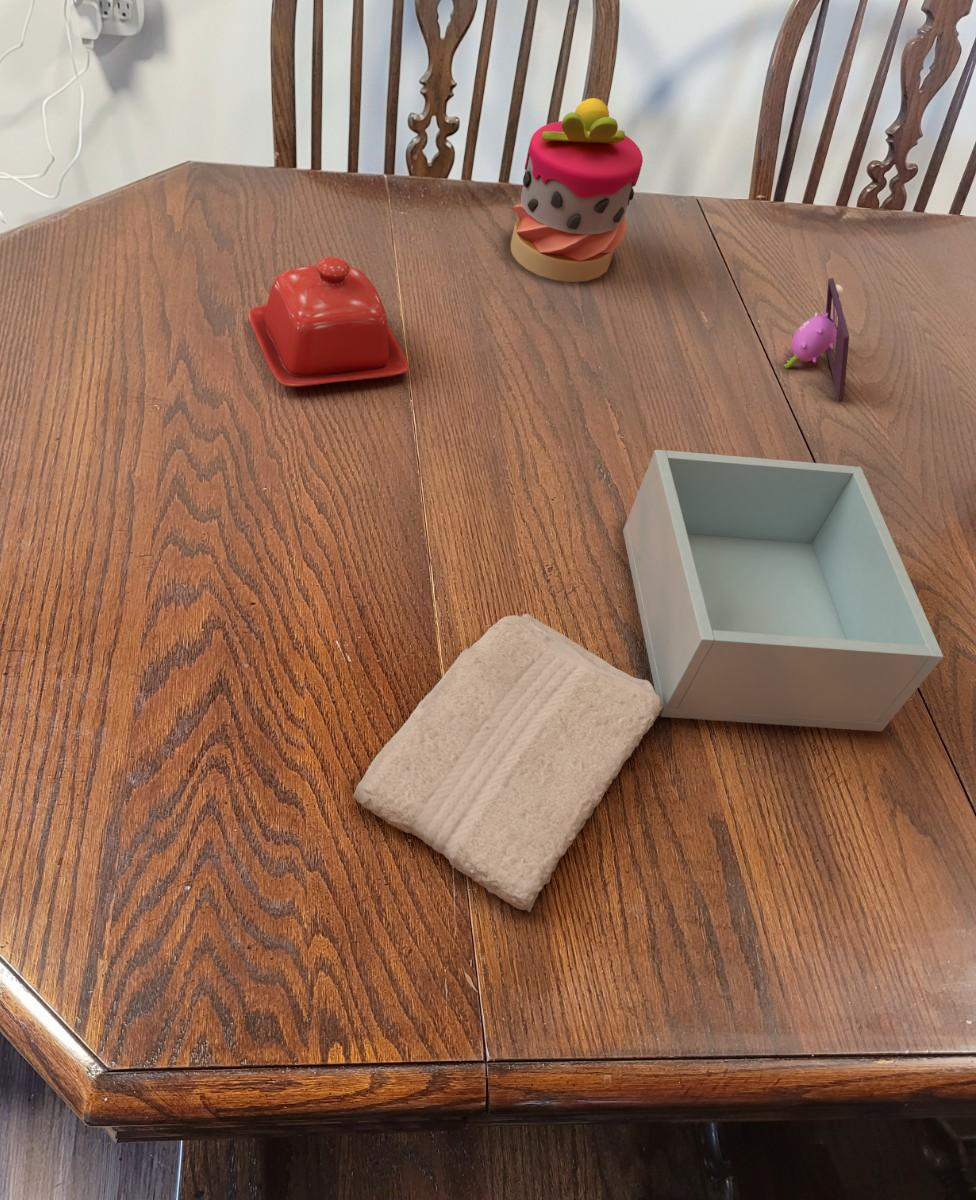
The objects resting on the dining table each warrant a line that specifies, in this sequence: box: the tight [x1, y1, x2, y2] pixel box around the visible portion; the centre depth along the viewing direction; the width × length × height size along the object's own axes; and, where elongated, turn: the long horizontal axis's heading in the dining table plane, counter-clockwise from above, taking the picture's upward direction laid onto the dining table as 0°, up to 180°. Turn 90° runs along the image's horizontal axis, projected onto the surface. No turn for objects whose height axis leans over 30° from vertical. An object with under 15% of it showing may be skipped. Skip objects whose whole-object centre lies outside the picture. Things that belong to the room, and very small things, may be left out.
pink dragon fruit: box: [783, 277, 850, 402], centre depth 91 cm, size 7×5×9 cm
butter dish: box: [247, 256, 410, 388], centre depth 85 cm, size 12×12×8 cm
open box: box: [622, 449, 944, 732], centre depth 69 cm, size 15×17×8 cm
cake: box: [510, 97, 644, 283], centre depth 96 cm, size 10×11×15 cm
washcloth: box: [352, 613, 663, 913], centre depth 62 cm, size 12×18×3 cm, turn 145°
